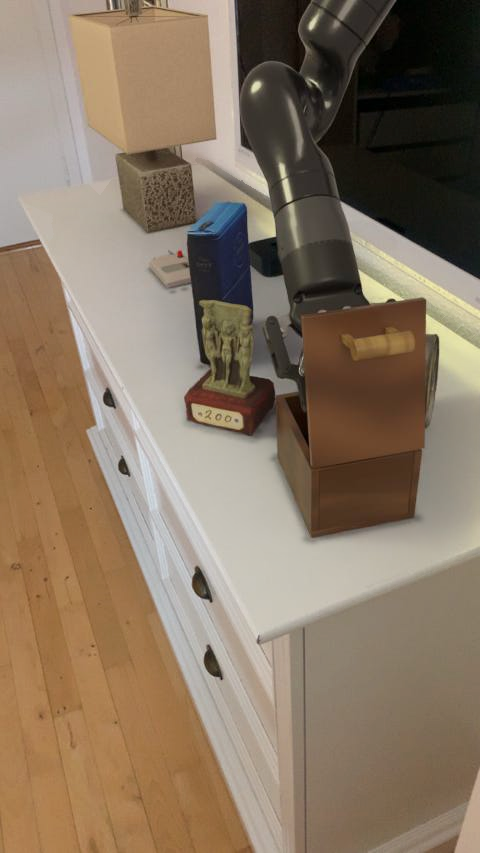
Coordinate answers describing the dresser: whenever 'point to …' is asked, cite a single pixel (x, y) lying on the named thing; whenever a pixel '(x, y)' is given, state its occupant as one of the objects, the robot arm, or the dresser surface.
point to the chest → (343, 479)
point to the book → (219, 261)
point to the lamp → (148, 101)
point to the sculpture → (229, 373)
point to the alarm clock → (431, 374)
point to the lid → (365, 381)
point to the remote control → (172, 269)
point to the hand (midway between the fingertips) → (350, 409)
